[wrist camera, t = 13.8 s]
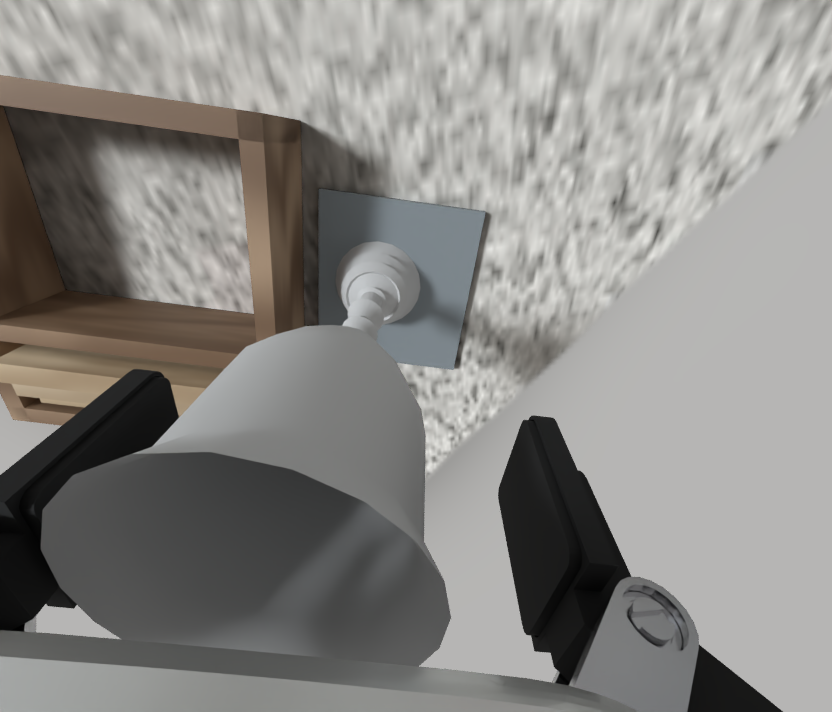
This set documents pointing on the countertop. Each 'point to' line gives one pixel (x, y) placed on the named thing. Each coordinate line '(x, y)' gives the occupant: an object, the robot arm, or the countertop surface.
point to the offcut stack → (93, 375)
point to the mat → (432, 255)
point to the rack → (131, 318)
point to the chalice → (273, 501)
